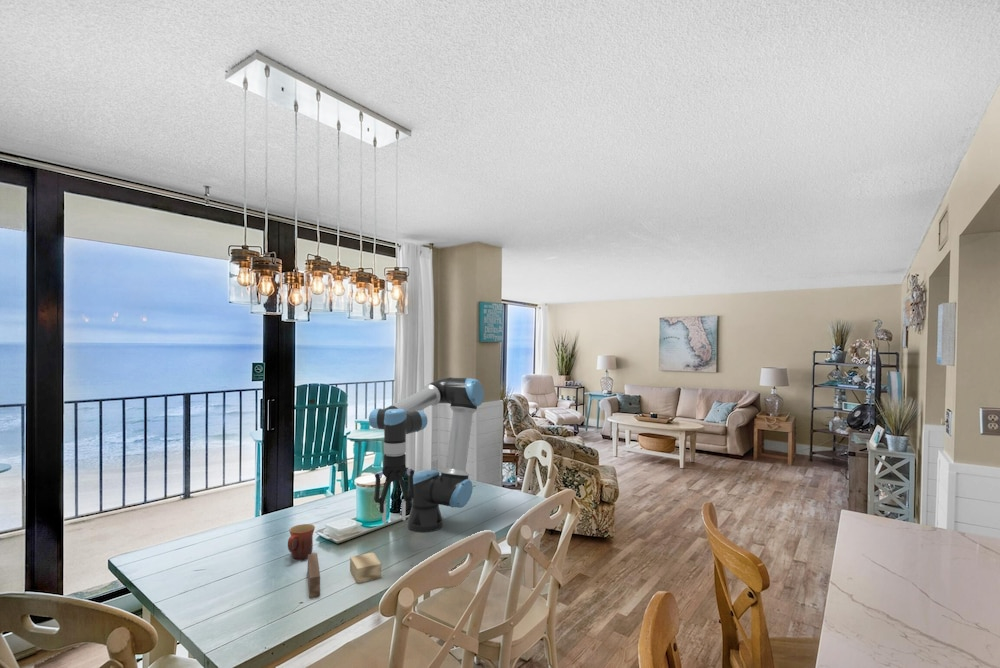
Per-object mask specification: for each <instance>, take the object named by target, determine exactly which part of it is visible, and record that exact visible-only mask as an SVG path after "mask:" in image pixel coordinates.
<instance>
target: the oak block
mask: <svg viewBox="0 0 1000 668" xmlns="http://www.w3.org/2000/svg"><path fill="white" fill-rule="evenodd" d="M349 571H350V573H351V575H352V577H353V579H354V581H355V583H356V584H360V583H365V582H369V581H373V580H377V579H381V578H382V563H381V561H380V560H379V558H378V557H377V555H376V554H375V553H374V551H373V552H368V553H362V554H358V555H354V556H350V557H349Z"/></svg>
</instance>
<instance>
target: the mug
mask: <svg viewBox="0 0 1000 668" xmlns="http://www.w3.org/2000/svg"><path fill="white" fill-rule="evenodd" d="M315 528H316V525H314V524H311V523H305V524H304V523H302V524H298V525H294V526H291V527H290V528H289V530H288V531H289V535H290V536H289V538H288V540H287V549H288V551H289V553H290V556H291V558H292V559H293V560H297V561H301V560H305V559H308V554H313V548H314V547H313V545H314V544H313V543H314V542H313V535H314V532H315Z"/></svg>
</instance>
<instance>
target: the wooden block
mask: <svg viewBox="0 0 1000 668" xmlns="http://www.w3.org/2000/svg"><path fill="white" fill-rule="evenodd" d="M318 556H319V555H318V552H316V553H312V554H308V558H307V584H308V596H309V599H311V598H316V597H320V596H321V574H320V572H321V571H320V566H319V565H320V564H319V557H318Z"/></svg>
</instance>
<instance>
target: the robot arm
mask: <svg viewBox="0 0 1000 668" xmlns="http://www.w3.org/2000/svg"><path fill="white" fill-rule="evenodd" d="M484 394H485V393H484V388H483V385H482V383H481V382H480V380H478V379H477V378H469V377H443V378H441V379H436V380H434V381H432V382H429V383H428V384H426V385H424V386H423V387H422V388H421V390H419V391H417V392H415V393H413V394H411V395H409V396H408V397H405V398H404V399H401V400H399V401H397V402H396V403H393V404H391V405H390V406H387V407H386V408H374V409H373V410H372V411H371V412H369V416H368V423H369V425H370V427H372V428H373V429H377V430H384V431H383V434H384V435H383V436H384V437H383V438H384V439H383V454H384V455H383V468H382V470H380V471H378V472H377V471H375V472H374V477H375V485H374V493H373V494H374V495H373V496H374V497H373V500H374V502H375V503H378V504H379V513H381V514H382V519H381V520H382V522H383V524H386V523H387V503H386V502H385V501H386V497H387V494H388V493H389V492H388V491H389V488H390V485H391V484H392V482H398V483H399V487H400V489H401V493H402V495H403V499H401V519H402V521H406V515H407V514H406V512H407V511H406V510H409V501H410V500H411V509H410V512H409V515H408V518H407V524H406V526H407V529H408V530H410V531H411V532H418V533H428V532H434V531H437V530H439V529H441V528H442V527H443V523H444V522H443V517H442V513H441V509H440V507H439V506H440V505H441V506H446V507H451V508H458V509H461V508H463V507H465V506H466V505H467V504H468V502H469V501H470V499H471V496H472V494H473V489H474V487H473V482H472V481H471V480H470V479H469V473H468V471H467V463H468V454H469V448H470V447H469V446H470V440H471V438H470V437H471V430H472V422H473V414H475V412H477V411H478V407H479V406H481V405H482V404H483V402H484V398H485V395H484ZM439 404H449V405H450V409H451V410H452V416H451V417H452V418H451V419H452V420H451V427H450V433H449V438H448V439H449V440H448V447H447V455H446V463H445V468H444V469H442V470H441V472H440V471H439V470H437V469H428V470H427V469H426V470H422V471H417V472H415V470H414V469H412V468H407V466H406V465H407V463H406V461H407V460H406V458H407V455H406V453H407V452H406V451H407V448H406V447H407V446H406V445H407V444H406V443H407V439H406V438H407V435H409V434H413V433H418V432H420V431H422V430H424V429H425V428H426V427H427V425H428V416H427V414H426V413H425V412H424V411H422V410H425V409H426V408H429V407H430V406H437V405H439ZM440 473H441V474H440ZM406 474H407V482H408V483H407V485H408V491H407V488H406V486H405V482H404V478H403V477H405V475H406ZM383 476H384V477H385V480H384V484H383V488H382V491H381V493H380V490H381V479H382V477H383Z"/></svg>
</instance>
